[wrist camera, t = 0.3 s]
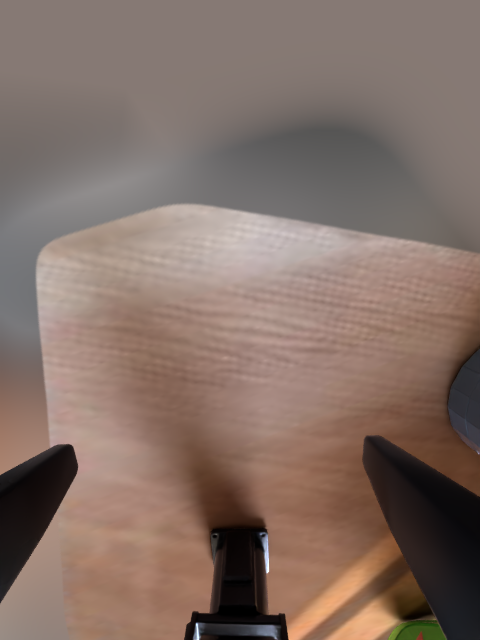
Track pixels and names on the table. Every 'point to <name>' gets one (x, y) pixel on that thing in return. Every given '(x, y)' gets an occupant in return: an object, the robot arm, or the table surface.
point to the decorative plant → (418, 631)
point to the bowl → (467, 403)
